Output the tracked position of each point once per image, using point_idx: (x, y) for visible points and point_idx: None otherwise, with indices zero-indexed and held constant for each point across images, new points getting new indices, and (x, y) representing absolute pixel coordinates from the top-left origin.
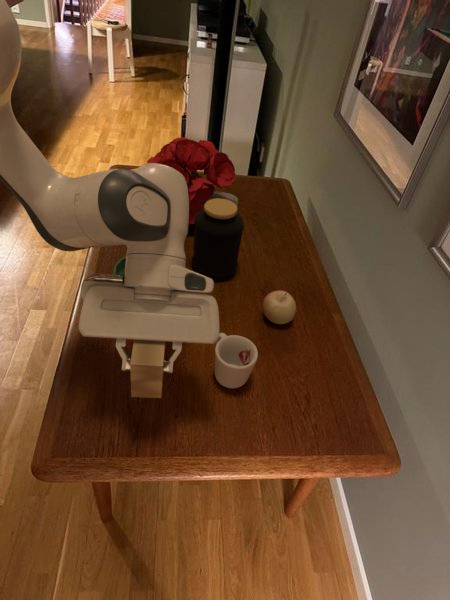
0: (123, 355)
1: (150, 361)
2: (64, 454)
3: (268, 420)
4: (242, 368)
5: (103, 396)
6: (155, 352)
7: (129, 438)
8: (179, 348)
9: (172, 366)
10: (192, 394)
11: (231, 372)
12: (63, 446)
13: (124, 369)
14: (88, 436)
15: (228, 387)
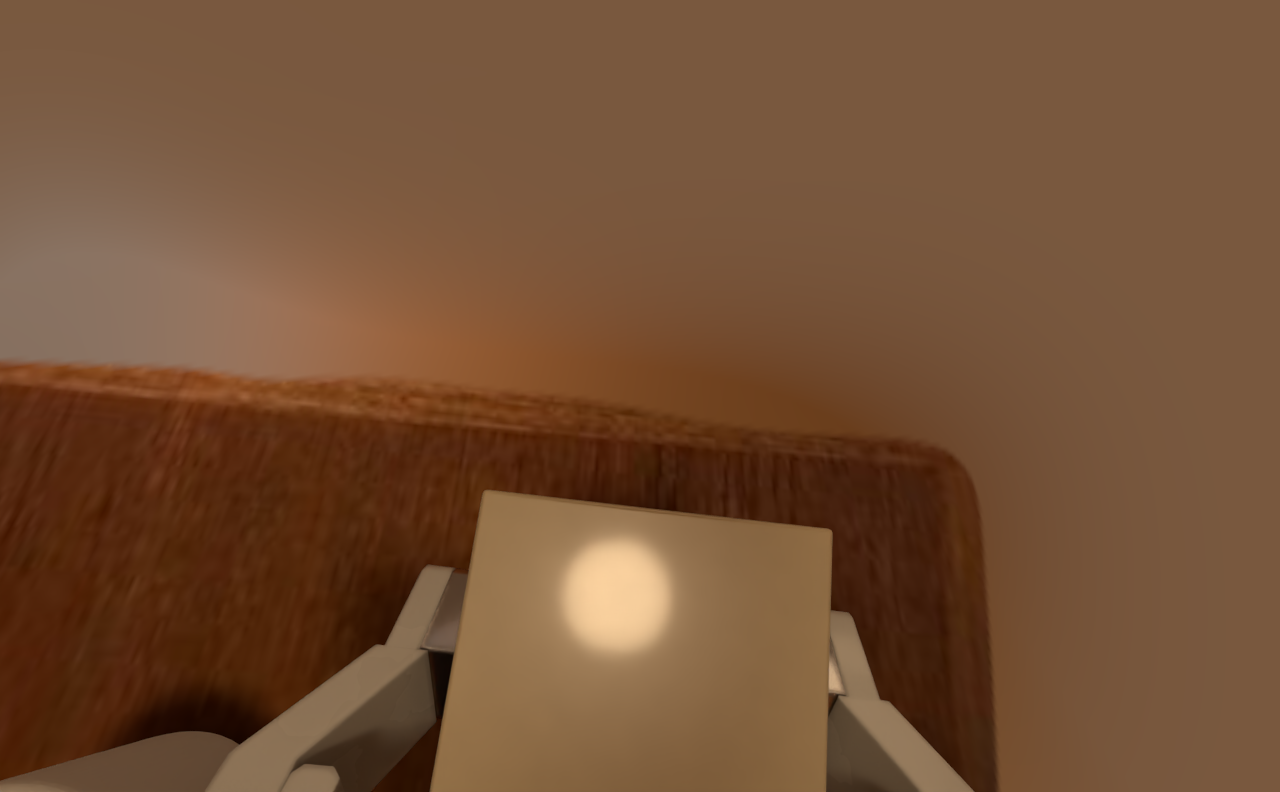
0: (884, 727)
1: (617, 556)
2: (899, 475)
3: (107, 549)
4: (2, 787)
5: None
6: (552, 699)
7: None
8: (245, 776)
9: (410, 600)
10: None
11: (112, 776)
12: (909, 505)
13: None
14: (832, 536)
15: (221, 736)
